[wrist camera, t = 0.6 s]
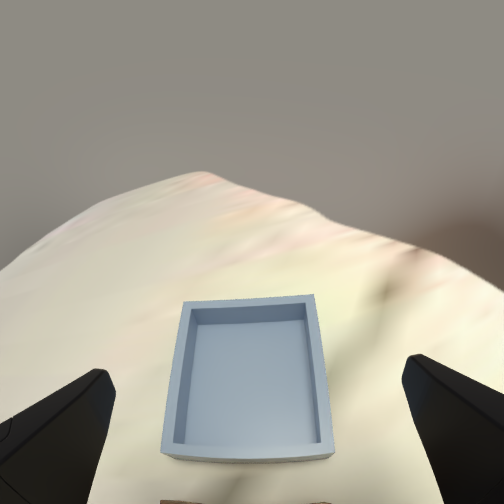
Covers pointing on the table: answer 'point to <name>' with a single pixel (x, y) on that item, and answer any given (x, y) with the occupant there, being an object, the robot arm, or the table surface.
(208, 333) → the tray
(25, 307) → the table surface
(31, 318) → the table surface
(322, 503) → the socket block
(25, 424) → the robot arm
